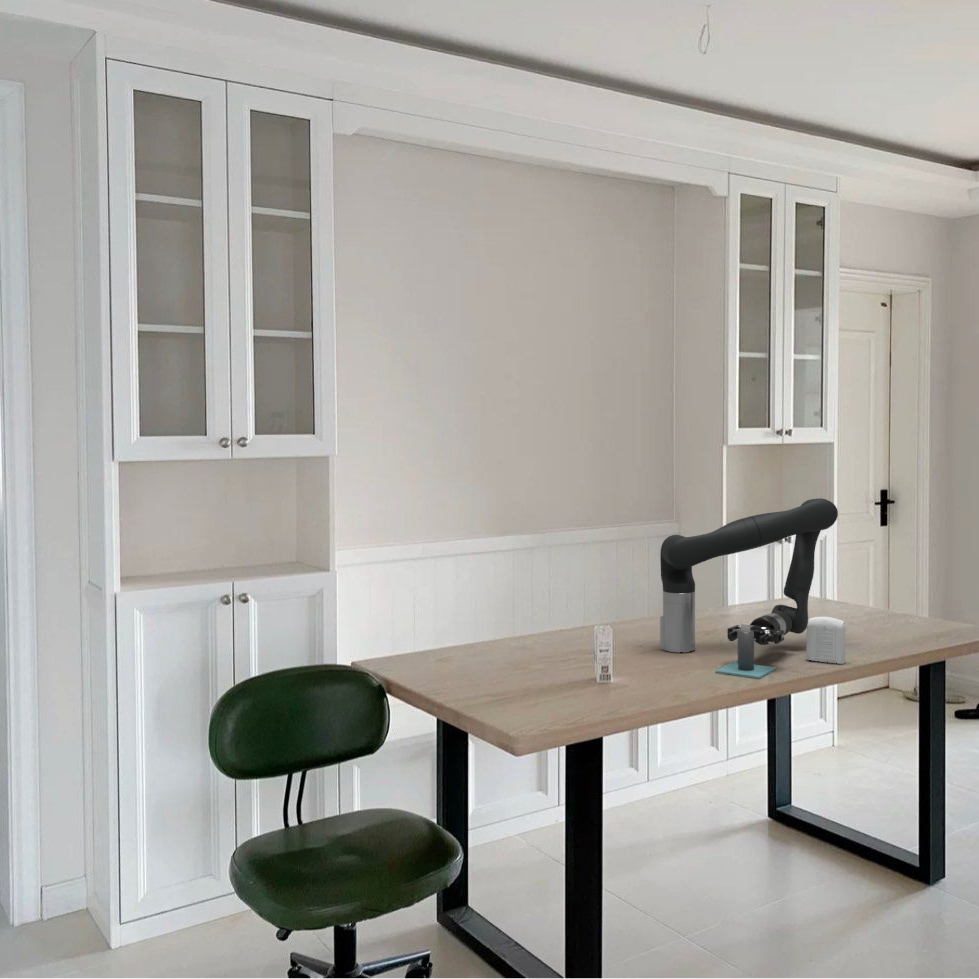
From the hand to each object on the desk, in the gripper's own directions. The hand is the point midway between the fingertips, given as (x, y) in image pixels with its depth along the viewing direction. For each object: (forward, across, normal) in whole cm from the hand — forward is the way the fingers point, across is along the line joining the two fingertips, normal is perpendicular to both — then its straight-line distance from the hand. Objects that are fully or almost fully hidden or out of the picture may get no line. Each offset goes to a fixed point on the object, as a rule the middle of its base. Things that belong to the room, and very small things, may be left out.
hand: (745, 639), depth 271 cm
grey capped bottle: (0, 0, +8) cm, 8 cm away
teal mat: (0, 0, +9) cm, 9 cm away
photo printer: (-22, +14, +9) cm, 28 cm away
